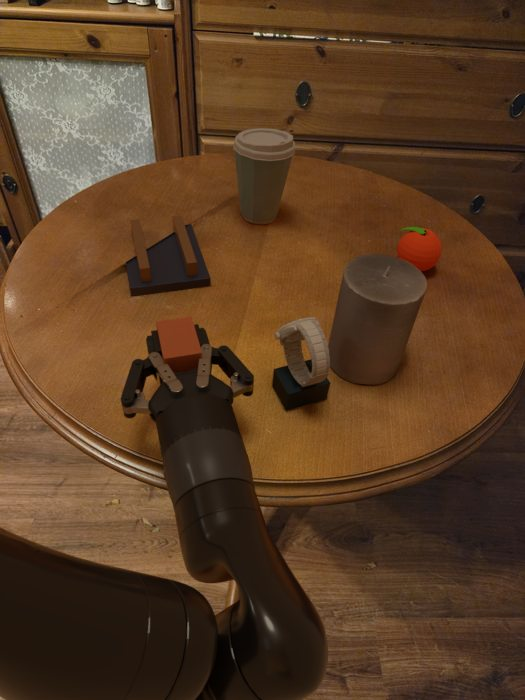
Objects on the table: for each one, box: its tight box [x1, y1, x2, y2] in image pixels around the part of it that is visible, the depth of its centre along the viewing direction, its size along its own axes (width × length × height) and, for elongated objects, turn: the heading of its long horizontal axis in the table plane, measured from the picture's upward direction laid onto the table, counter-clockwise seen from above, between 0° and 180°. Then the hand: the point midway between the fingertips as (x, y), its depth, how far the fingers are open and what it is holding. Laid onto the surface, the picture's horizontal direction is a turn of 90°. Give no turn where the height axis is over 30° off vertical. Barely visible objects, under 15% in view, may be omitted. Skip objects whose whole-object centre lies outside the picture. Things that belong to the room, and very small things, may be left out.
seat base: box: [125, 214, 212, 297], centre depth 79 cm, size 16×12×4 cm
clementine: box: [396, 226, 443, 272], centre depth 80 cm, size 8×7×7 cm
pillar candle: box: [327, 253, 428, 386], centre depth 61 cm, size 10×10×15 cm
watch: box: [271, 316, 331, 412], centre depth 58 cm, size 6×8×11 cm
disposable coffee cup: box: [232, 127, 296, 225], centre depth 87 cm, size 11×11×15 cm
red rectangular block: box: [155, 315, 202, 373], centre depth 57 cm, size 6×4×10 cm, turn 16°
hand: (175, 333), depth 57 cm, fingers closed on red rectangular block, 4 cm apart
